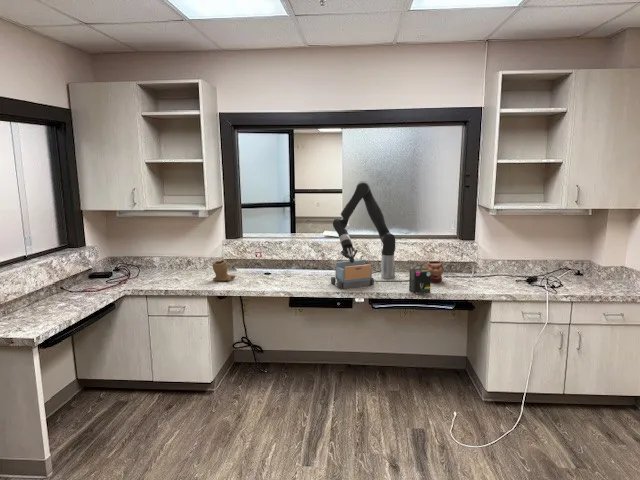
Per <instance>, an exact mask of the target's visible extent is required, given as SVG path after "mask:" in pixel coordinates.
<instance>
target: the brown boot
mask: <svg viewBox="0 0 640 480" xmlns="http://www.w3.org/2000/svg"><path fill="white" fill-rule="evenodd" d="M211 266H212V269H213V272H214V274H215V277H213V278H212V281H218V282H219V281H220V282H221V281H222V282H225V281H226V282H227V281H231V282H232V281H234V280H235V279H236V275H235V274H234V275H230V274H228V263H227V261H226V260H225V259H220V260H216V261H214V262H213V263H212V265H211Z"/></svg>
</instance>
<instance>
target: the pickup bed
mask: <svg viewBox="0 0 640 480" xmlns="http://www.w3.org/2000/svg"><path fill="white" fill-rule="evenodd" d="M334 263H335V265H334V266H335V276H332V277H330V284H331V285H335V284H336V287H337V289H343V290H344V289H351V288H352V289H353V288H361V287H368V286H371V285H374V284H375V279H374V277H373V271H372V270H373V267H372V266H371V277H370V278H361V279H352V280H345V267H347V266H358V265H367V264H366V259H356V260H355V259H354V262H353V263H351V262H350V260H345V261H335V262H334Z"/></svg>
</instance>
